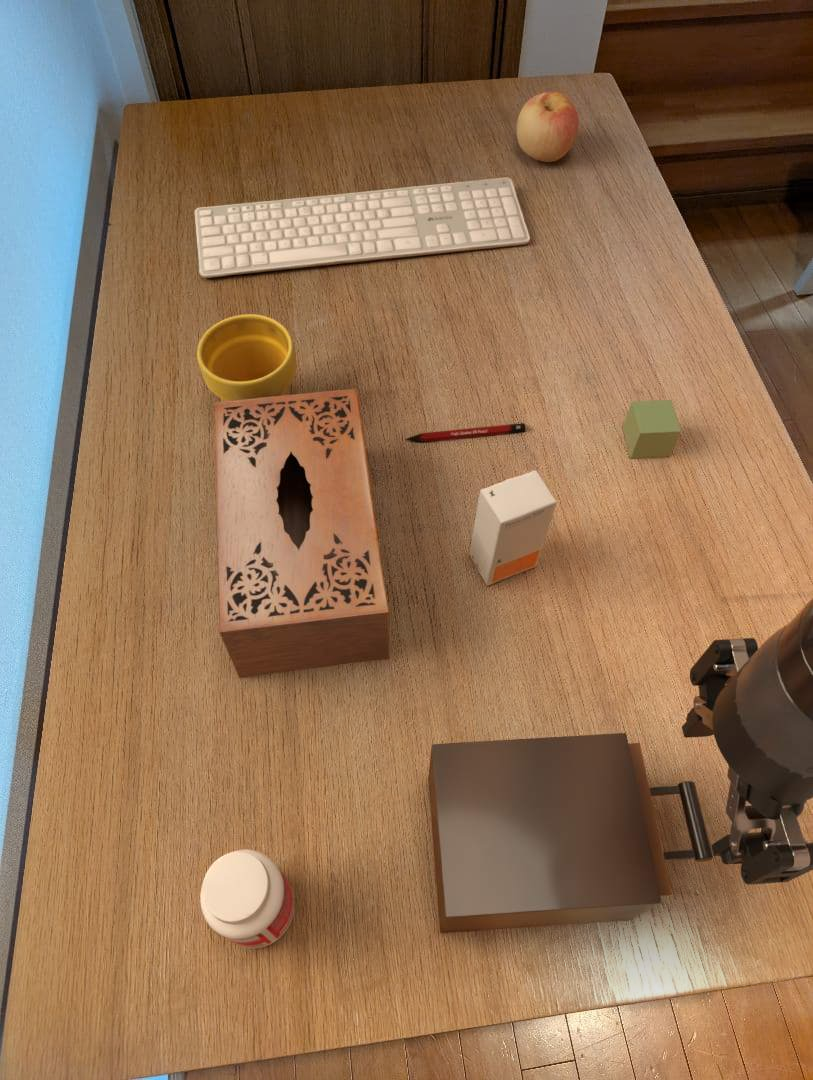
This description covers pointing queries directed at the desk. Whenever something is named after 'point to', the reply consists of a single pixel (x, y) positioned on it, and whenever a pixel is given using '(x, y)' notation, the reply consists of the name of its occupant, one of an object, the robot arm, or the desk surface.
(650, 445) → the block
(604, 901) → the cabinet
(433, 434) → the pencil
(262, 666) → the tissue box cover
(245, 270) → the keyboard
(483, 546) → the cosmetic box
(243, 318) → the flower pot
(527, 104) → the apple
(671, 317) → the desk surface
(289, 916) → the pill bottle
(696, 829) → the drawer
